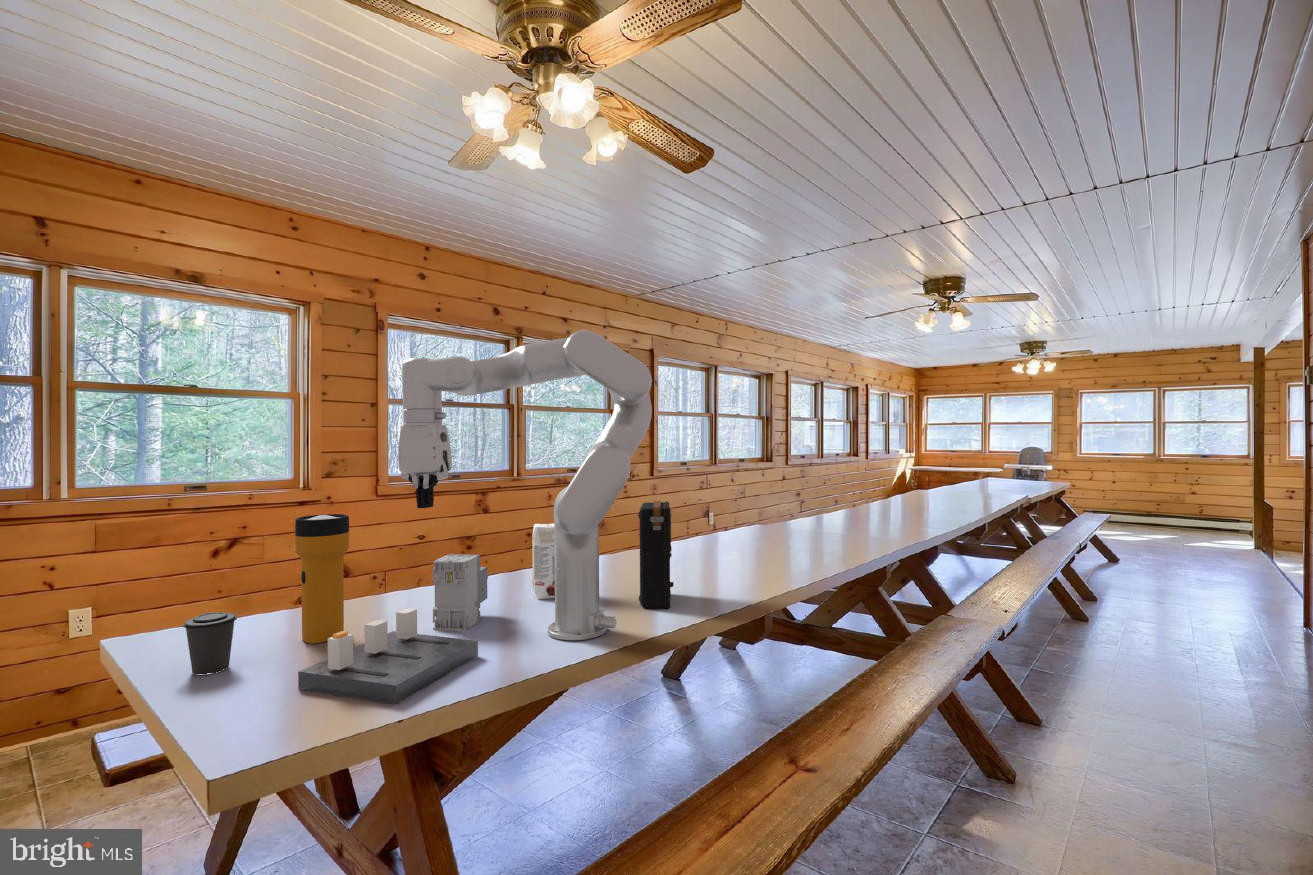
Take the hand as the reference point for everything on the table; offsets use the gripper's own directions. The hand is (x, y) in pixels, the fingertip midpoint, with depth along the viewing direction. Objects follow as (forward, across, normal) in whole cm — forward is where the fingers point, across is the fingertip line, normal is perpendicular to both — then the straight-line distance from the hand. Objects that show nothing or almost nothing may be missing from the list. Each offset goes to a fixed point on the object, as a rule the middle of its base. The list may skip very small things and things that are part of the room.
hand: (425, 507), depth 125 cm
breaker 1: (+24, 0, +15) cm, 29 cm away
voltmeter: (+29, -37, -41) cm, 63 cm away
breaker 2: (+24, -1, +7) cm, 25 cm away
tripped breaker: (+24, 0, +23) cm, 34 cm away
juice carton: (+28, -8, -39) cm, 49 cm away
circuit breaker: (+28, +2, -15) cm, 32 cm away
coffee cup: (+27, +29, +24) cm, 46 cm away
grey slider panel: (+28, -4, +16) cm, 32 cm away
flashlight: (+28, +23, +4) cm, 36 cm away
